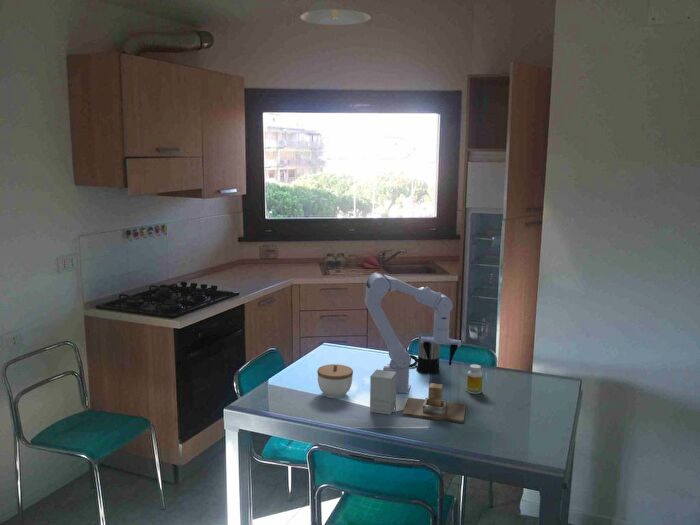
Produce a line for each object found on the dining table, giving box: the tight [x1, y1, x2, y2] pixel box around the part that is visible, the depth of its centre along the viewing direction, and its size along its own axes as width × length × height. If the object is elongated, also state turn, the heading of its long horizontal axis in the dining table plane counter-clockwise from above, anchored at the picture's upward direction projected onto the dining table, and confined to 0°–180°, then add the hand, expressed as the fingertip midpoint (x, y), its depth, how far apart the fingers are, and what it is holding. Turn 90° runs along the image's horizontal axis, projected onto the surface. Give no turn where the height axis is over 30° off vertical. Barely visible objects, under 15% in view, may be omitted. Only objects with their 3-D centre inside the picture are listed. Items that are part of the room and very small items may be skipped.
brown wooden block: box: [428, 382, 443, 407], centre depth 204 cm, size 4×4×8 cm
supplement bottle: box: [466, 364, 483, 395], centre depth 222 cm, size 5×5×10 cm
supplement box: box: [369, 369, 397, 415], centre depth 204 cm, size 7×7×13 cm
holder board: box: [401, 397, 467, 424], centre depth 205 cm, size 20×14×3 cm
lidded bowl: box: [317, 363, 354, 399], centre depth 216 cm, size 13×13×11 cm
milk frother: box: [409, 331, 441, 375], centre depth 245 cm, size 14×16×15 cm
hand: (439, 363), depth 225 cm, fingers open, 7 cm apart
